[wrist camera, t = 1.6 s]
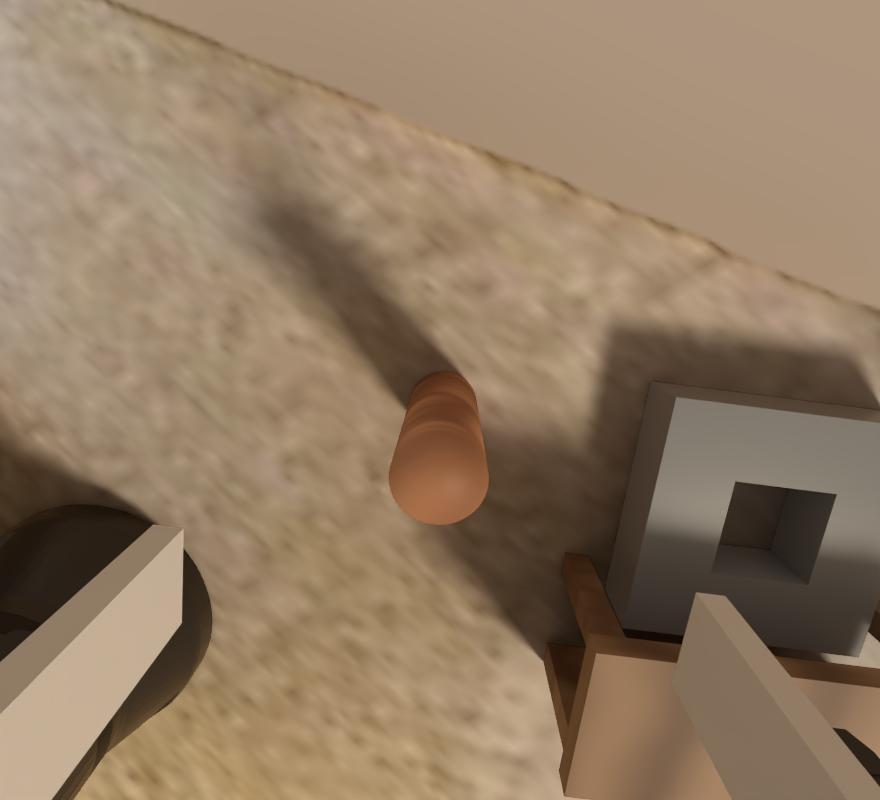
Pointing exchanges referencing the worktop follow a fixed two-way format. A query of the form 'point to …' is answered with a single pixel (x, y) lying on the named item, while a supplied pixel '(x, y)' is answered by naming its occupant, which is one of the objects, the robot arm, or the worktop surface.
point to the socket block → (706, 504)
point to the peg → (440, 452)
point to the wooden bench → (662, 705)
